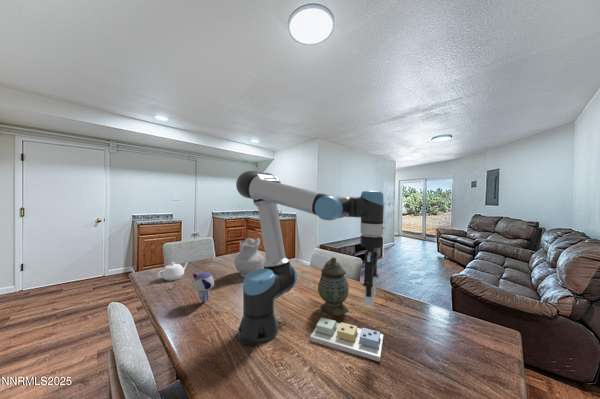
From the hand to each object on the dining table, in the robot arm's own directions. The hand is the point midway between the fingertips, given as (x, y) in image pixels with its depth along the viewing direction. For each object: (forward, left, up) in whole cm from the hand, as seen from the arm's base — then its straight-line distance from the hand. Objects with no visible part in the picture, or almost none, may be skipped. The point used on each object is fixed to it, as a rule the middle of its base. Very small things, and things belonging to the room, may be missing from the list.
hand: (370, 299), depth 79 cm
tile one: (-16, 0, -15) cm, 22 cm away
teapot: (-123, +15, -18) cm, 125 cm away
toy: (-79, -1, -18) cm, 81 cm away
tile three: (0, 0, -15) cm, 15 cm away
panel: (-8, 0, -17) cm, 19 cm away
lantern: (-19, +20, -18) cm, 33 cm away
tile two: (-8, 0, -15) cm, 17 cm away
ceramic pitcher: (-84, +41, -18) cm, 95 cm away
